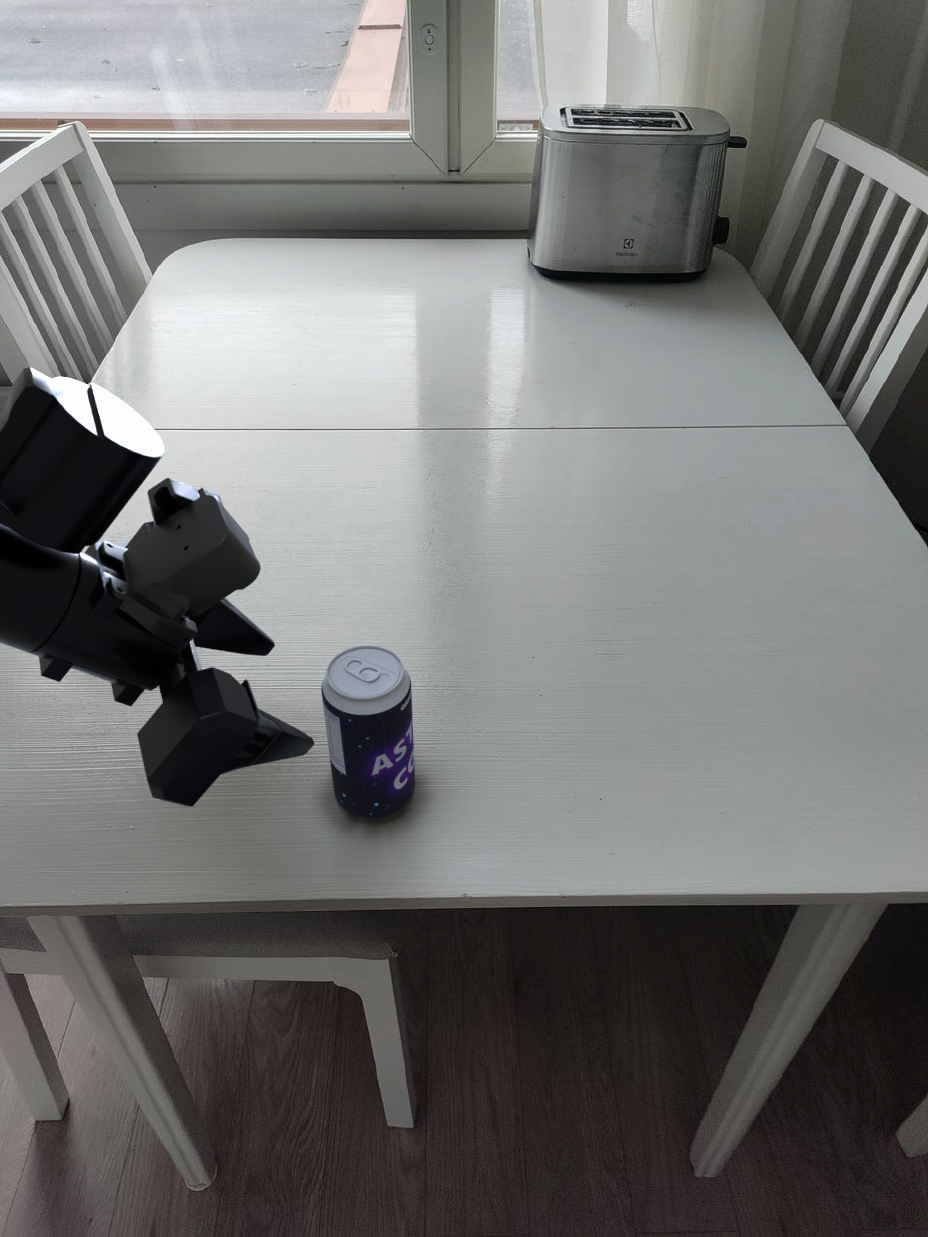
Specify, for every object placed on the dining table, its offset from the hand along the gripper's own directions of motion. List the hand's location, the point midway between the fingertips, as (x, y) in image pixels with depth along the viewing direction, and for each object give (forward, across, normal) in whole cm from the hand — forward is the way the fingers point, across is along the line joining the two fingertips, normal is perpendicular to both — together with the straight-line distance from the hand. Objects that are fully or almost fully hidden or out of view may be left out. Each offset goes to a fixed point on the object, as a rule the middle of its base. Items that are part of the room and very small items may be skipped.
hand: (289, 695), depth 59 cm
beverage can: (+12, 0, +5) cm, 13 cm away
